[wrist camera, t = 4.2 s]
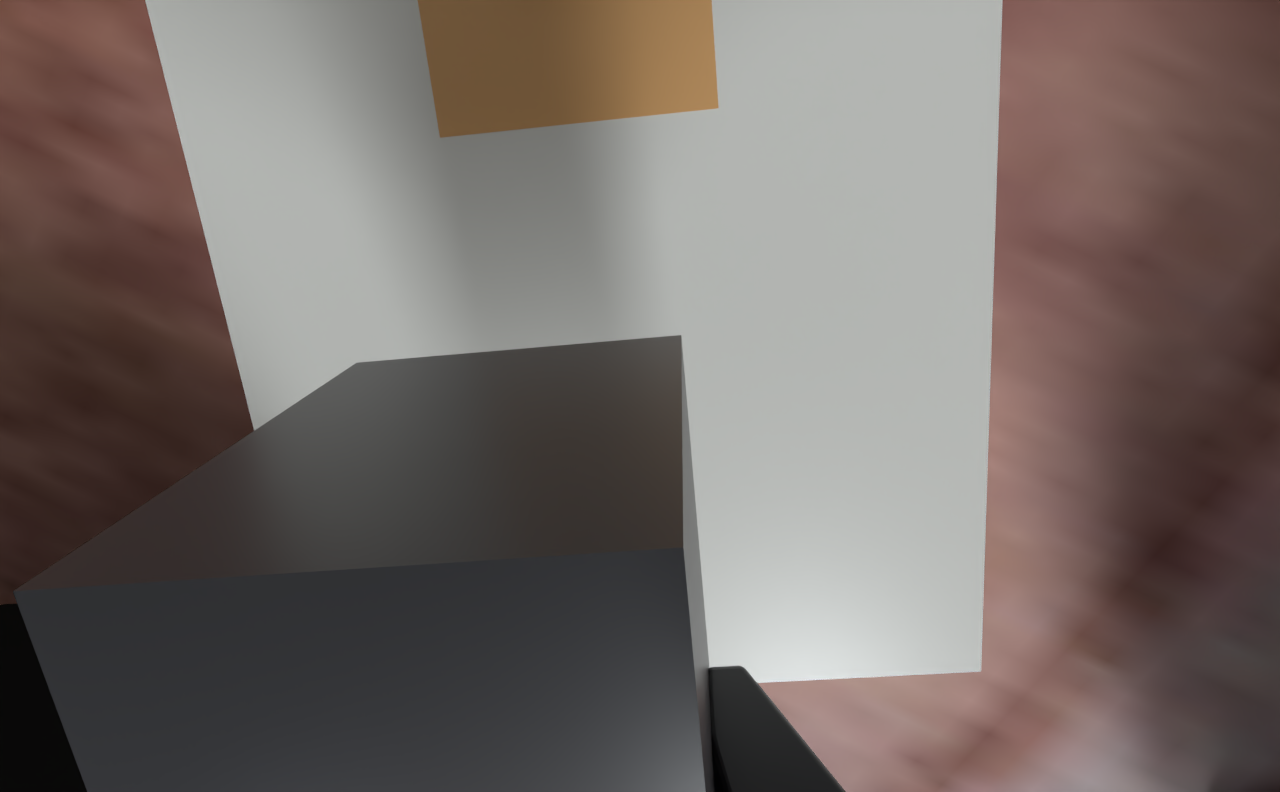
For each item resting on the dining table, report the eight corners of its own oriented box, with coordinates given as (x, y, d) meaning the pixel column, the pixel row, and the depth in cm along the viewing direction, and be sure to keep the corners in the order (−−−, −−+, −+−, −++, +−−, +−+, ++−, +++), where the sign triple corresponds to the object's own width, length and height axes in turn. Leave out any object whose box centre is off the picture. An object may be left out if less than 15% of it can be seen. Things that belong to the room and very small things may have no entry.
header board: (961, 637, 17) (1032, 760, 14) (345, 670, 19) (266, 793, 15) (992, -726, 11) (1138, -1133, 8) (51, -557, 12) (-207, -845, 9)
